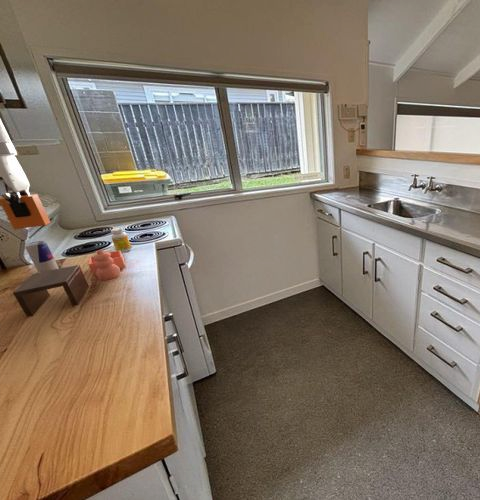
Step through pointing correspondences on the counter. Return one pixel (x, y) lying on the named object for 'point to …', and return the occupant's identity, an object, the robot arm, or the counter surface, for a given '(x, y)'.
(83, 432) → the counter surface
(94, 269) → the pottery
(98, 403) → the counter surface
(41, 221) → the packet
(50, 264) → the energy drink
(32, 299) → the shelf
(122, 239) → the supplement bottle
